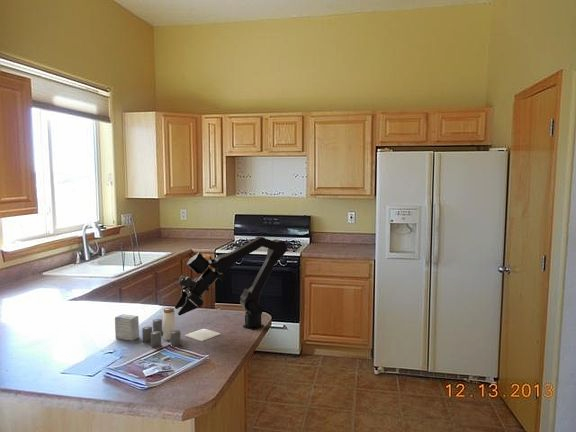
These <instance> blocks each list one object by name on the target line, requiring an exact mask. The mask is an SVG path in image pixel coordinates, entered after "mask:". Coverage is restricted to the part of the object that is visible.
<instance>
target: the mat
mask: <svg viewBox="0 0 576 432" xmlns="http://www.w3.org/2000/svg"><path fill="white" fill-rule="evenodd" d="M218 336H221V333H220V332H217V331H214V330H210V329H207V328H202V329H198V330H196V331H193V332H190V333H187V334H184V337H186V338H189V339H193V340H195V341H198V342H205V341H207V340H209V339H212V338H215V337H218Z"/></svg>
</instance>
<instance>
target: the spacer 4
mask: <svg viewBox="0 0 576 432" xmlns="http://www.w3.org/2000/svg"><path fill="white" fill-rule="evenodd" d="M181 341H182V338H181V330H179V329H178V330H177V329H175V330H174V331H171V340H170V346H171V345H172V346H174V347H173V348H177V347H180V346H181V343H182V342H181ZM172 346H171V347H172Z"/></svg>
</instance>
